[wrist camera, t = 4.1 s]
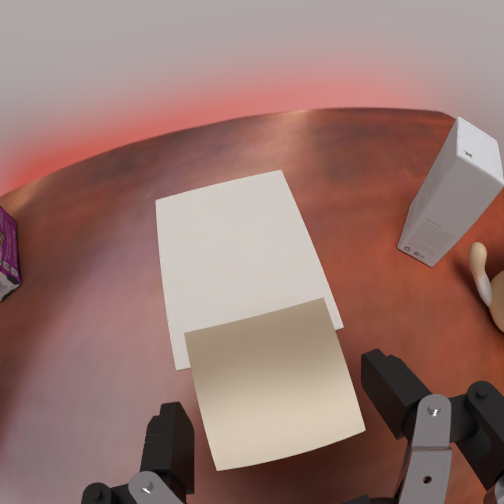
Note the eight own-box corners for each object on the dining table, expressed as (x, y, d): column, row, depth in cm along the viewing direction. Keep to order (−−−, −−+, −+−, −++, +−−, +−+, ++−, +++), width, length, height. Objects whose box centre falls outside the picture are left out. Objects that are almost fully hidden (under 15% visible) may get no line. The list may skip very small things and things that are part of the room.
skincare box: (432, 269, 22) (506, 187, 12) (395, 249, 24) (455, 154, 13) (442, 223, 25) (498, 140, 14) (409, 204, 26) (456, 113, 15)
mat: (342, 328, 21) (343, 327, 20) (177, 370, 20) (176, 370, 20) (280, 172, 29) (281, 169, 28) (156, 202, 28) (155, 200, 27)
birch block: (313, 411, 18) (365, 430, 7) (245, 429, 18) (216, 470, 7) (294, 349, 20) (323, 297, 10) (229, 366, 20) (183, 332, 9)
